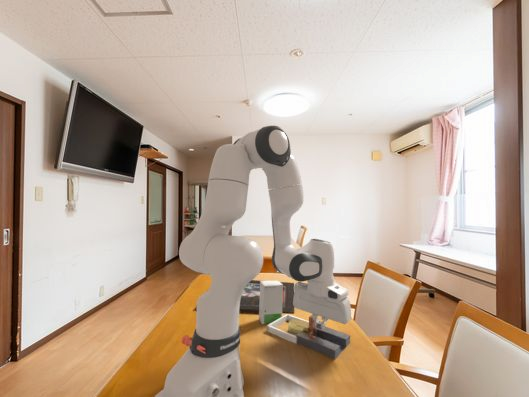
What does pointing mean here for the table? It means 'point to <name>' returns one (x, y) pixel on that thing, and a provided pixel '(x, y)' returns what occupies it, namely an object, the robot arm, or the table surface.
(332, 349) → the slot bed
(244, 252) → the robot arm
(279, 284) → the skincare box
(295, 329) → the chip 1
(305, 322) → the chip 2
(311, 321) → the copper metal bar
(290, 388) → the table surface
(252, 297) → the religious icon
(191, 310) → the table surface
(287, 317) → the tray
